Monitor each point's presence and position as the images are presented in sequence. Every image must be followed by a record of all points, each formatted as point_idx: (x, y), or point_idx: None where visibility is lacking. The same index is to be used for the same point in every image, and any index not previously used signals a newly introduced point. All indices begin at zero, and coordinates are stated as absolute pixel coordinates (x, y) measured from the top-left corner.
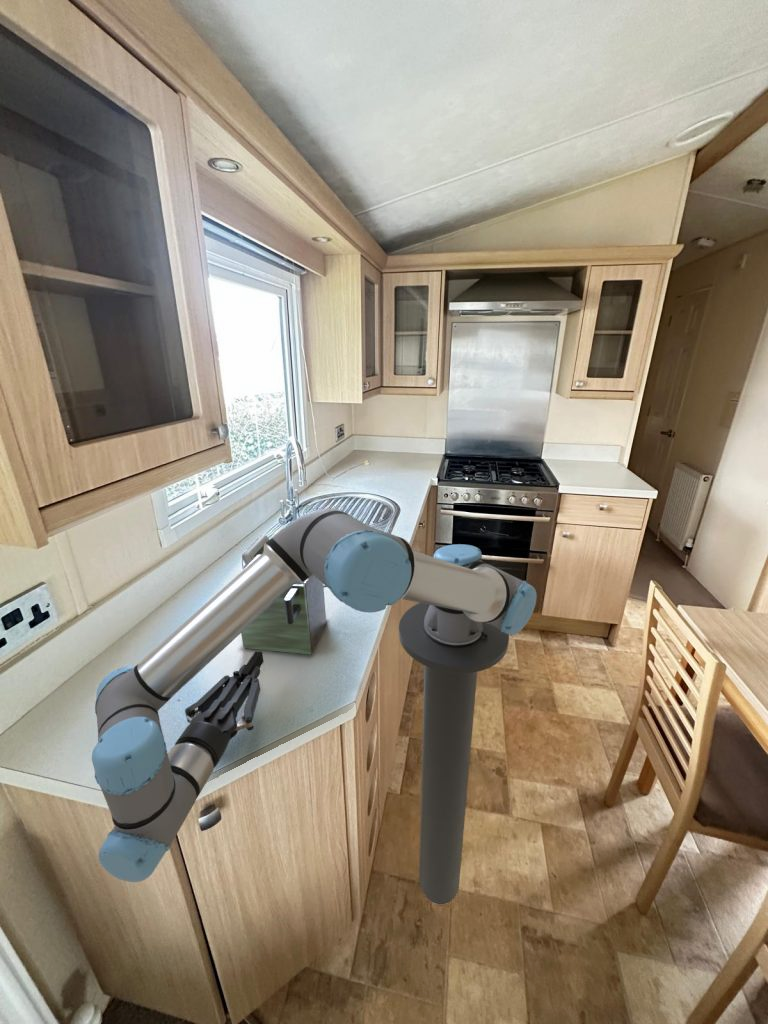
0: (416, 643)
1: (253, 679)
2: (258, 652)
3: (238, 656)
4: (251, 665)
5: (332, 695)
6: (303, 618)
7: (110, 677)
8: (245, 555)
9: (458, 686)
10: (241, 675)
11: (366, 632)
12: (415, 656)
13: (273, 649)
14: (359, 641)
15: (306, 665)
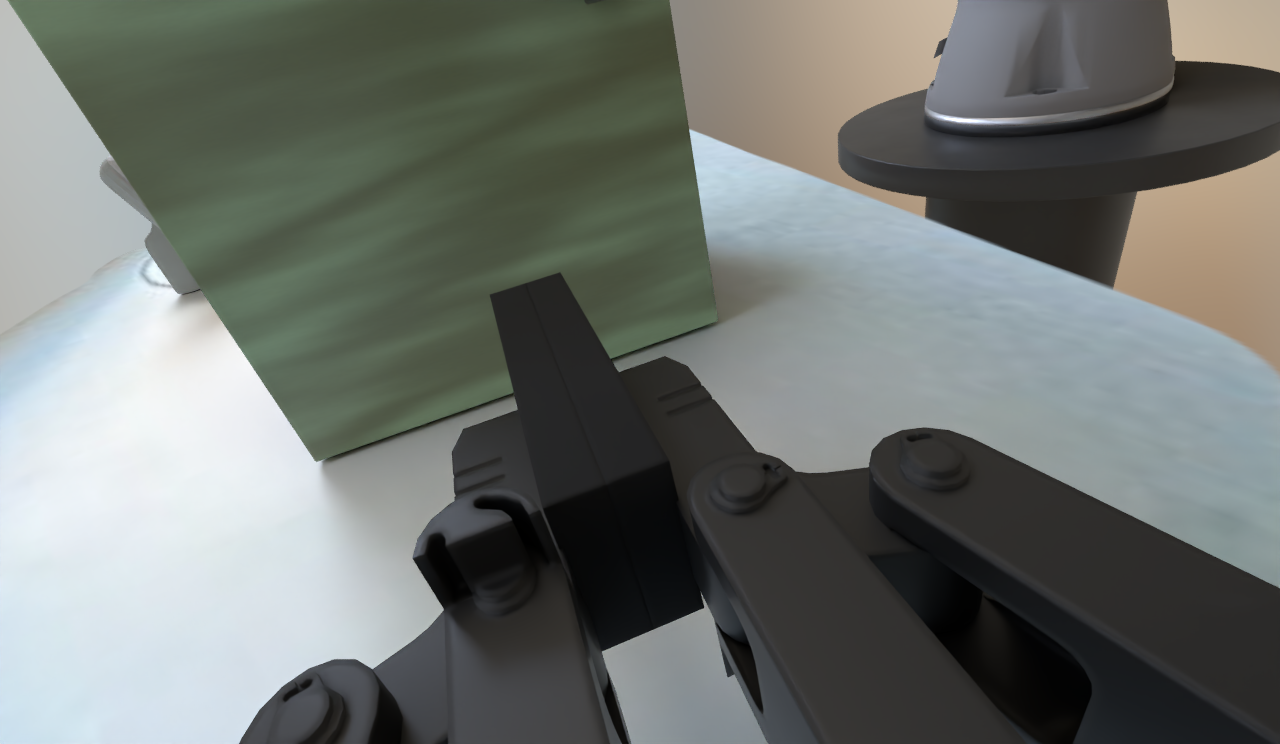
0: (1019, 155)
1: (814, 486)
2: (530, 287)
3: (308, 513)
4: (590, 373)
5: (1140, 383)
6: (656, 66)
7: None
8: (116, 163)
9: (1108, 283)
10: (568, 537)
11: (822, 197)
12: (1072, 181)
13: (507, 385)
14: (843, 217)
15: (761, 359)
